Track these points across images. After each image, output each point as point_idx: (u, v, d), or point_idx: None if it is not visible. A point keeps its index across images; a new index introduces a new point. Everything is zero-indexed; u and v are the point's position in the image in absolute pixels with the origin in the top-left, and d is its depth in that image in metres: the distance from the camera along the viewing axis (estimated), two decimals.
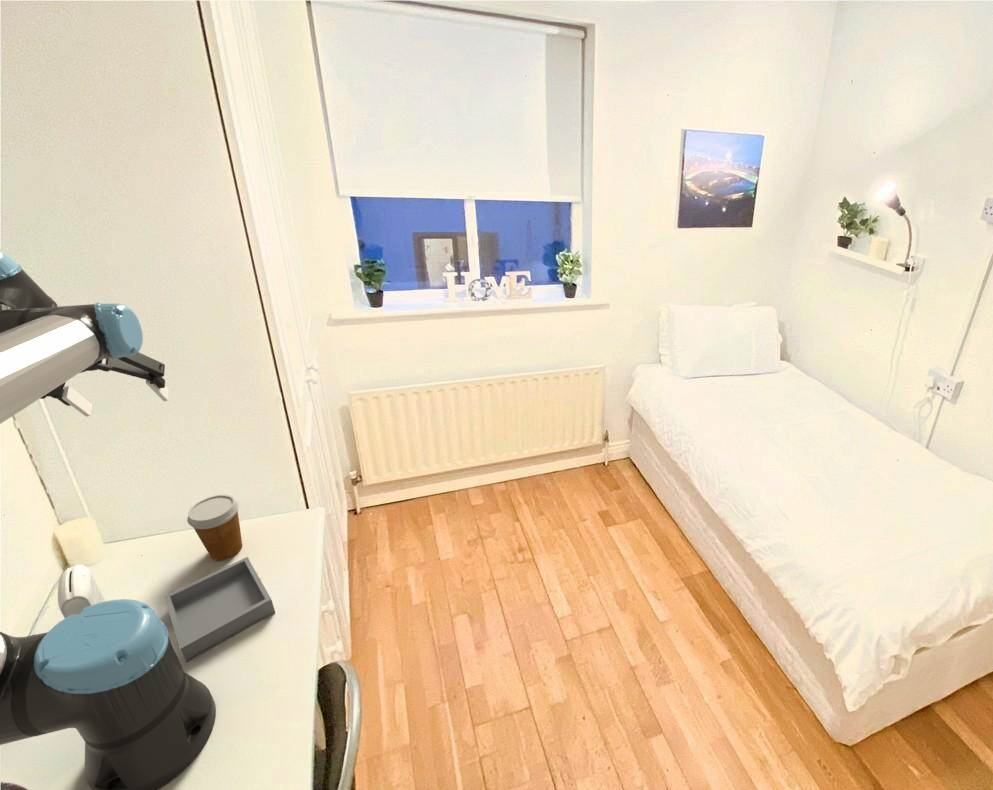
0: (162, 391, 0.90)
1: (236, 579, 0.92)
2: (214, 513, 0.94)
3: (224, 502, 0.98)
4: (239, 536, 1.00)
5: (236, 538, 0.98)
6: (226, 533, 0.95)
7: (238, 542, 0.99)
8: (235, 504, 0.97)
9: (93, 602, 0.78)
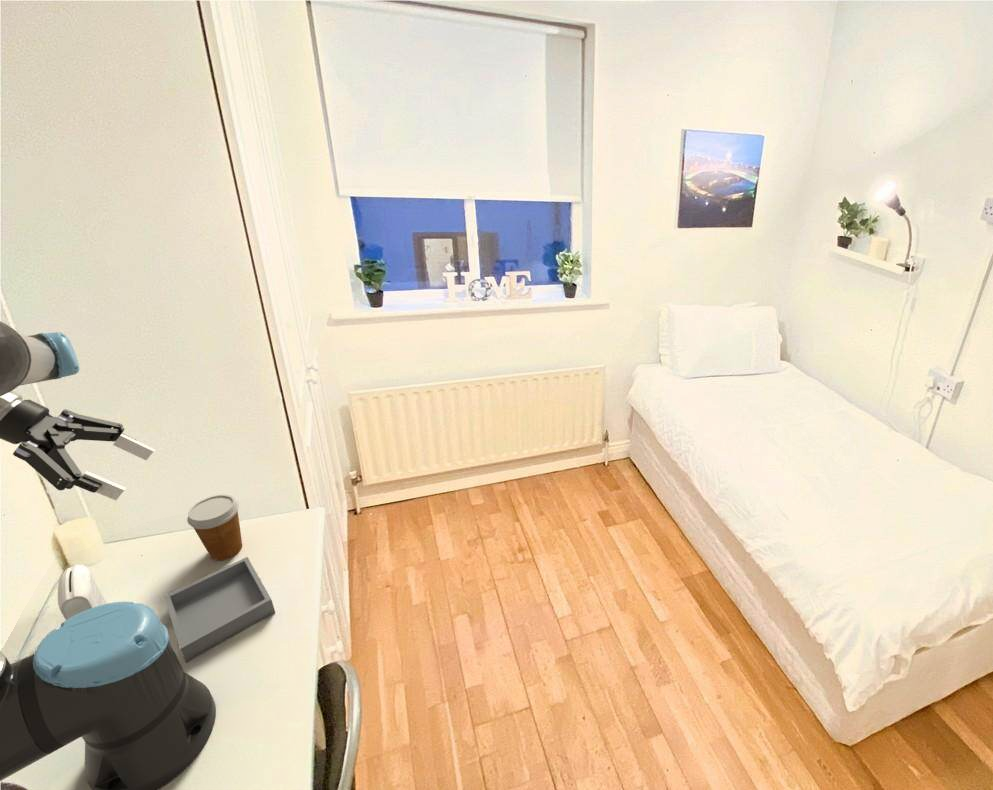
0: None
1: (236, 579, 0.92)
2: (214, 513, 0.94)
3: (224, 502, 0.98)
4: (239, 536, 1.00)
5: (236, 538, 0.98)
6: (226, 533, 0.96)
7: (238, 542, 0.99)
8: (235, 504, 0.97)
9: (93, 602, 0.78)
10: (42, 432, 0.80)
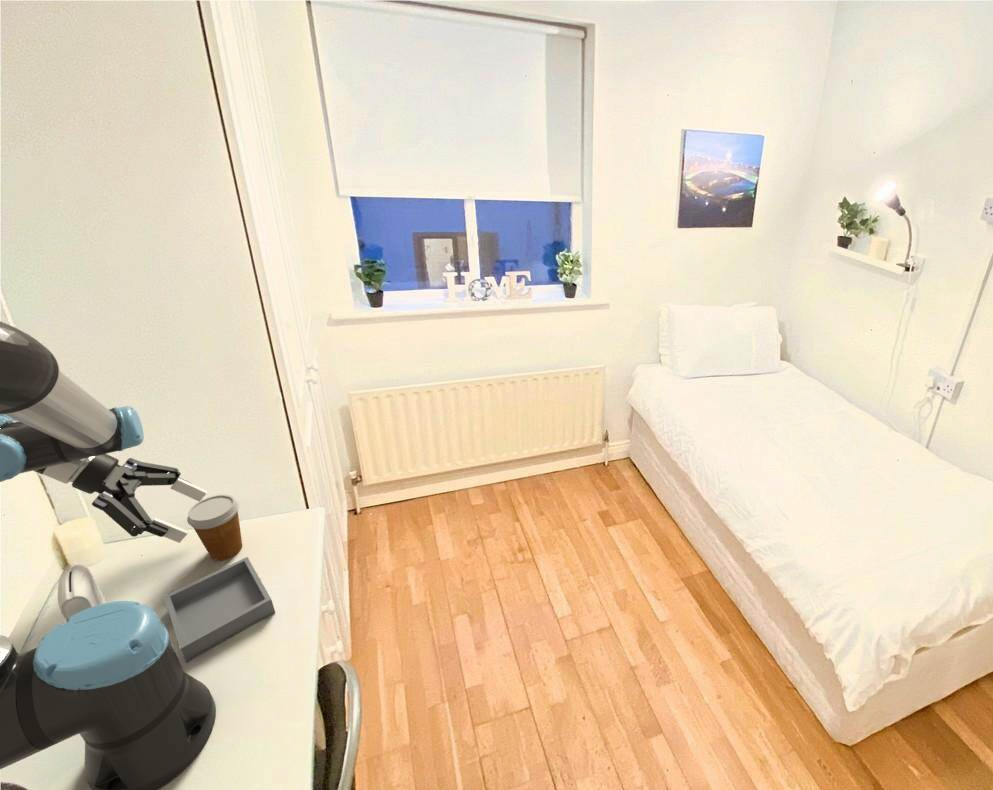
0: None
1: (236, 579, 0.92)
2: (214, 513, 0.94)
3: (224, 502, 0.98)
4: (239, 536, 1.00)
5: (236, 538, 0.98)
6: (226, 533, 0.95)
7: (238, 542, 0.99)
8: (235, 504, 0.97)
9: (93, 602, 0.78)
10: (114, 482, 0.88)
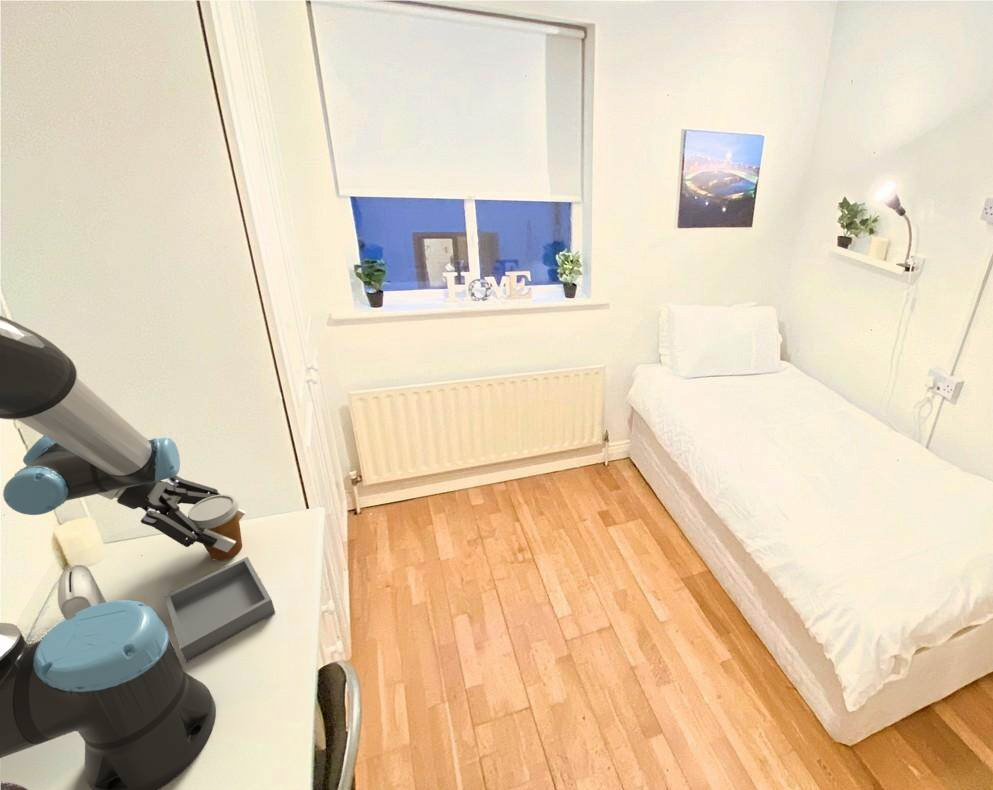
0: None
1: (236, 579, 0.92)
2: (214, 513, 0.94)
3: (224, 502, 0.98)
4: (239, 536, 1.00)
5: (236, 538, 0.98)
6: (226, 533, 0.95)
7: (238, 542, 0.99)
8: (235, 504, 0.97)
9: (93, 602, 0.78)
10: (155, 497, 0.90)
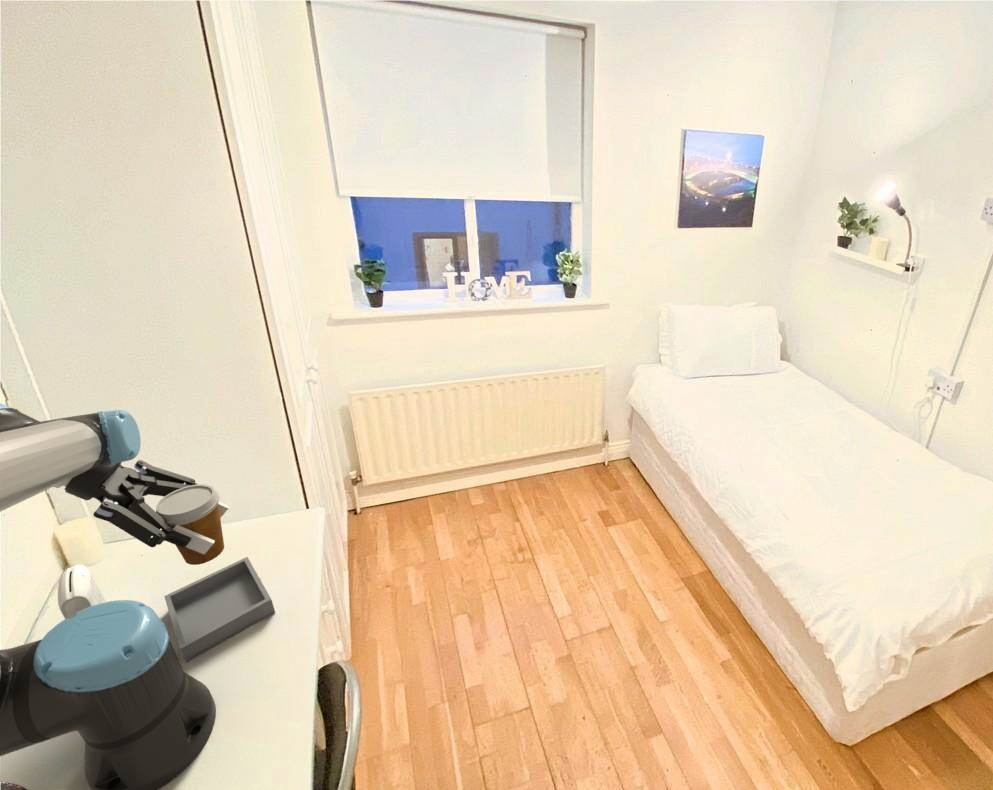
0: None
1: (236, 579, 0.92)
2: (188, 506, 0.77)
3: (201, 493, 0.80)
4: (220, 535, 0.82)
5: (216, 537, 0.81)
6: (203, 530, 0.78)
7: (219, 542, 0.82)
8: (215, 495, 0.80)
9: (93, 602, 0.78)
10: (114, 485, 0.72)
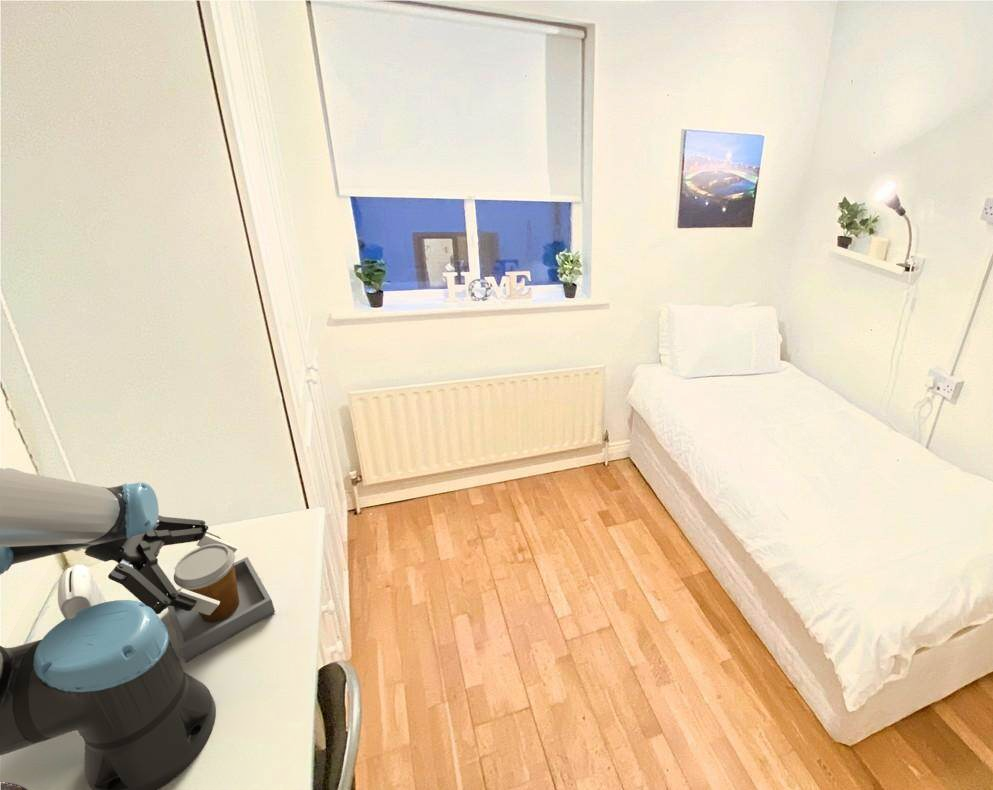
0: None
1: (236, 579, 0.92)
2: (206, 569, 0.80)
3: (217, 553, 0.83)
4: (236, 592, 0.85)
5: (232, 595, 0.84)
6: (220, 591, 0.81)
7: (234, 599, 0.85)
8: (230, 556, 0.82)
9: (93, 602, 0.78)
10: (134, 547, 0.74)
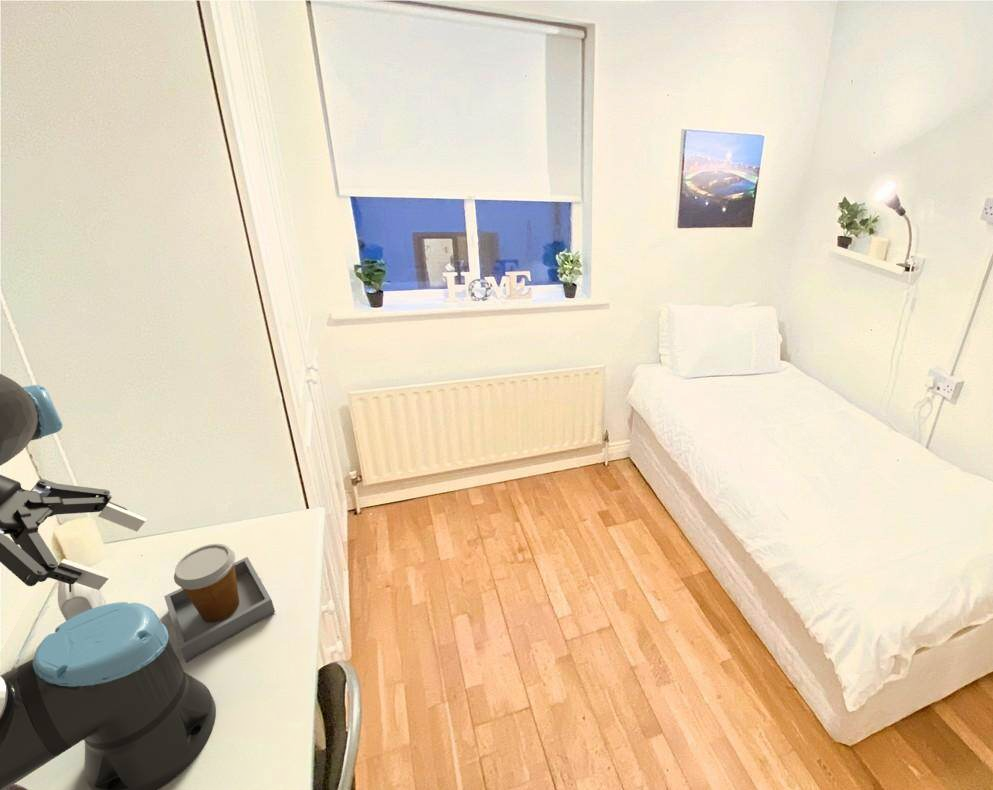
0: None
1: (236, 579, 0.92)
2: (206, 569, 0.80)
3: (218, 553, 0.83)
4: (236, 592, 0.85)
5: (232, 595, 0.84)
6: (220, 591, 0.81)
7: (234, 599, 0.85)
8: (231, 556, 0.82)
9: (93, 602, 0.78)
10: (11, 513, 0.67)
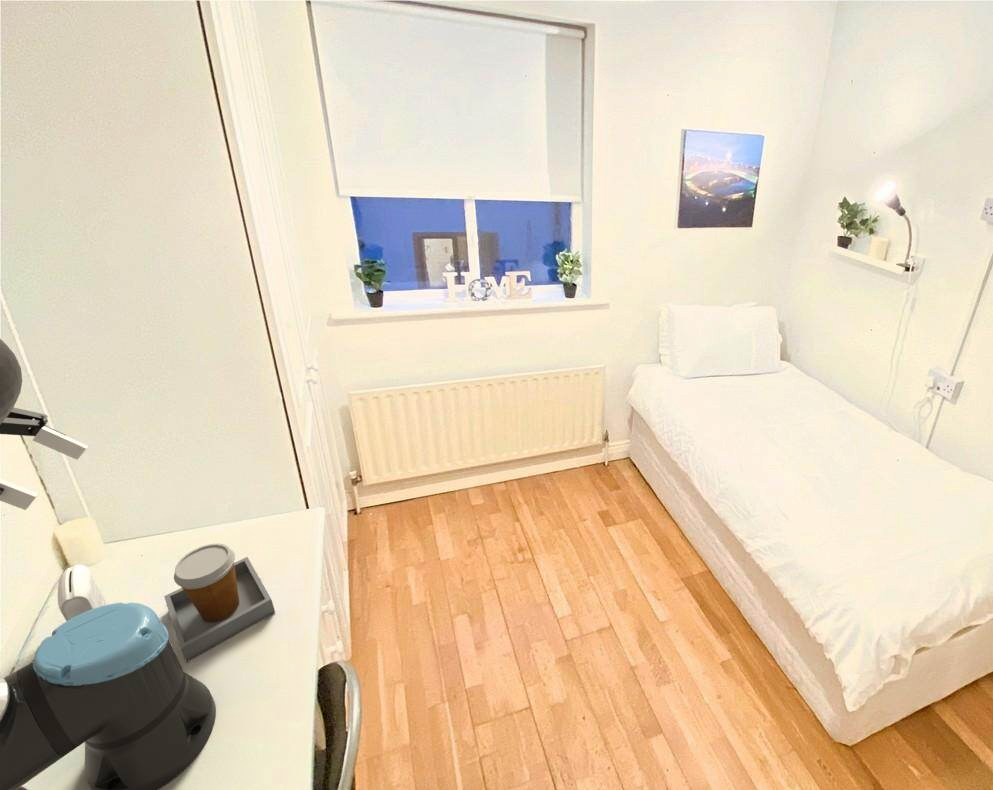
0: None
1: (236, 579, 0.92)
2: (206, 568, 0.80)
3: (217, 553, 0.83)
4: (236, 592, 0.85)
5: (232, 595, 0.84)
6: (220, 591, 0.81)
7: (234, 599, 0.85)
8: (231, 556, 0.82)
9: (93, 602, 0.78)
10: None
